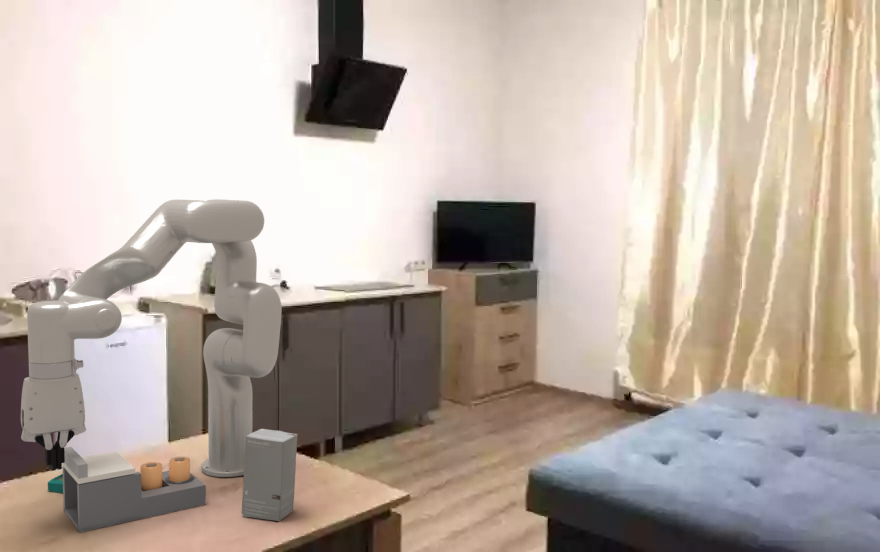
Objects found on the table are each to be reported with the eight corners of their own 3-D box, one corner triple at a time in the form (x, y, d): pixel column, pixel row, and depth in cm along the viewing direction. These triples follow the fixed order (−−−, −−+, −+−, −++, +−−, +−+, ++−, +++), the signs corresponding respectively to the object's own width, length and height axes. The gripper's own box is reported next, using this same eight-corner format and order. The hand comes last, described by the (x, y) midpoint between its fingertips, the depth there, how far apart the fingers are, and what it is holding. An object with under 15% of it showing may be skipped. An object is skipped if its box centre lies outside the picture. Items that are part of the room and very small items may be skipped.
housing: (183, 486, 170) (183, 445, 169) (205, 504, 160) (205, 461, 159) (63, 511, 155) (62, 466, 155) (79, 532, 146) (78, 485, 145)
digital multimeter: (119, 472, 178) (119, 459, 178) (78, 496, 164) (78, 482, 164) (89, 469, 180) (89, 456, 179) (46, 493, 165) (45, 480, 165)
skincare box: (241, 517, 155) (240, 436, 153) (259, 503, 161) (259, 426, 160) (281, 523, 152) (281, 441, 151) (297, 509, 159) (298, 430, 158)
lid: (116, 456, 160) (116, 439, 160) (135, 473, 151) (135, 455, 151) (62, 466, 154) (62, 448, 154) (78, 484, 145) (78, 465, 145)
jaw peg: (138, 503, 160) (137, 464, 159) (158, 499, 162) (158, 460, 162) (144, 510, 157) (144, 469, 156) (165, 505, 159) (164, 465, 158)
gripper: (90, 361, 154) (92, 455, 156) (2, 370, 145) (5, 470, 146) (101, 368, 148) (103, 466, 150) (10, 379, 139) (13, 482, 141)
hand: (55, 467), depth 148 cm, fingers closed
